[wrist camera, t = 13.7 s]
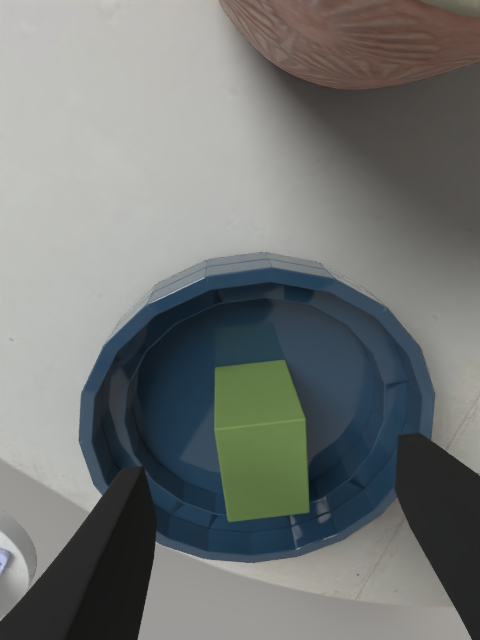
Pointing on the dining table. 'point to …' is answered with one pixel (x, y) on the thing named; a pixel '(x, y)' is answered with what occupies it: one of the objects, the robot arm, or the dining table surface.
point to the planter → (361, 38)
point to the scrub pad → (260, 441)
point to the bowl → (242, 348)
